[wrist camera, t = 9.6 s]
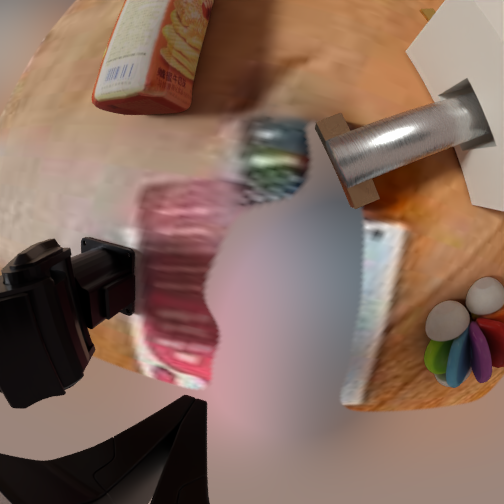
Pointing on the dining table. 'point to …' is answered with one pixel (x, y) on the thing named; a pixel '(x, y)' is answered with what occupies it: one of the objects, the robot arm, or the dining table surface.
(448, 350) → the rainbow petal fan
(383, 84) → the dining table surface
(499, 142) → the sleeve
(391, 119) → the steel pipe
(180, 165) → the dining table surface
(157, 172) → the dining table surface
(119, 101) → the snack package
